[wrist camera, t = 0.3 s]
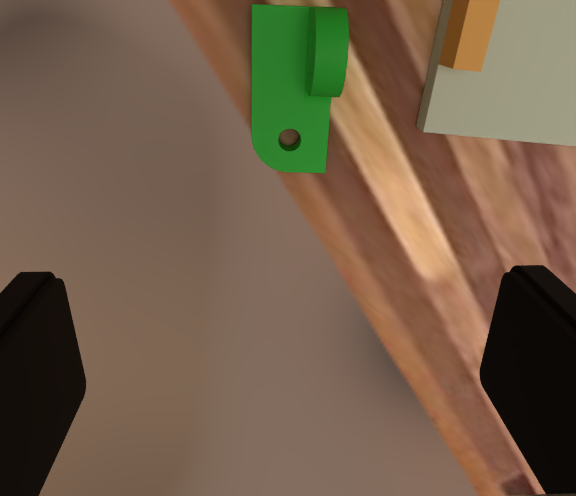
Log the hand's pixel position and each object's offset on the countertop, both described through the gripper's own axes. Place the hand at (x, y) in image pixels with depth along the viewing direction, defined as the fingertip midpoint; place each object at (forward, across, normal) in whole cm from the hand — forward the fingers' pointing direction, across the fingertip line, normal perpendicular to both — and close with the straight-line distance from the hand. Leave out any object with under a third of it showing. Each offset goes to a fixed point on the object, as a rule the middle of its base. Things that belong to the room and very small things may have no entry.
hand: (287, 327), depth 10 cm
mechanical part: (+31, -2, 0) cm, 31 cm away
